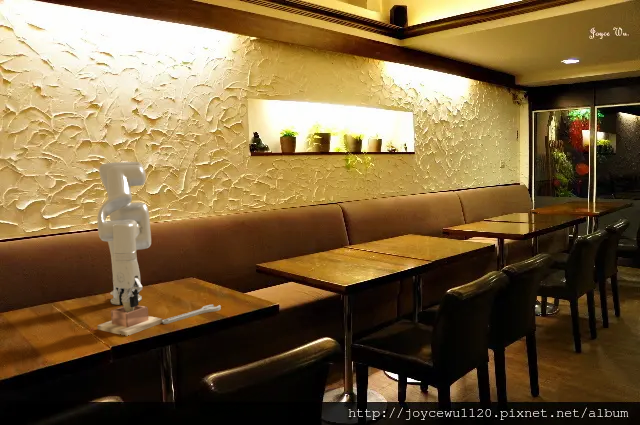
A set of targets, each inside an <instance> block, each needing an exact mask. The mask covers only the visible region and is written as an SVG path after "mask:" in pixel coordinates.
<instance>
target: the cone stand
mask: <svg viewBox="0 0 640 425" xmlns="http://www.w3.org/2000/svg"><path fill="white" fill-rule="evenodd" d="M110 314H111V320H109V321H106V322H104V323H100V324H97V330H99V331H103V332H108V333H112V334H115V335H116V334H117V335H120V334H121V336H124V335H125V336H124V337H128V335H129V336H131V335H134V334H136V333H140V332H141V331H144V330H147V329H150V328H152V327H155V326H157V325H160V324H163V323H162V320H164V319H163V318H160V317H156V316H155V317H154V316H151V315H149V308H148V306H144V305H138V306H135V307H134V311H131V312H128V313H127V312H126V311H125V308H124V306H120V307H118V308H115V309H112V310H110Z"/></svg>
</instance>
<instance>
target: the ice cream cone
mask: <svg viewBox="0 0 640 425" xmlns="http://www.w3.org/2000/svg"><path fill="white" fill-rule="evenodd" d="M130 297H131V295H130V291H129V289H124V293H123V294H122V297H121V298H122V300H121V301H122V303H123V305H122V307H124V308H125V311H126V312H127V313H128V312H131V311H134V307H130Z"/></svg>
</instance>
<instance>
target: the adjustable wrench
mask: <svg viewBox="0 0 640 425" xmlns="http://www.w3.org/2000/svg"><path fill="white" fill-rule="evenodd" d="M221 307H222V306H221V305H220V304H219V305H217V306H215V305H214V304H207V305H204V306H202V307H201V308H199V309H196V310H192V311H190V312H186V313H182V314H179V315H175V316H172V317H168V318H166V319H165V318H164V319H163V320H162V323H161V324H162V325H169V324H171V323H173V322H174V323H175V322H179V321H182V320H185V319H188V318H191V317H195V316H198V315H201V314H207V313H212V312H218V311H221V309H222V308H221Z"/></svg>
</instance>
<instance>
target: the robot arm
mask: <svg viewBox="0 0 640 425" xmlns="http://www.w3.org/2000/svg"><path fill="white" fill-rule="evenodd" d="M98 172H99V177H100V180H101V182H102V184H103V186H104V188H105V191H106V194H107V200H106V201H104V203H103V204H102V205H101V207H100V209H99V210H98V213H97V233H98V234H97V235H98V237H99V239H100V240H101V241H103V242H107V243H108V248H109V252H110V258H111V272H112V283H113V284H112V285H113V290H112V291H111V292H110V295H112V296H113V298H111V299H110V303H111V304H112V305H117V306H118V305H119V306H123V303H122V301H121V300H122V298H121V297H122V294H123V293H124V289H129V291H130V295H131V297H130V307H135V306H138V305H139V304H140V303H139V302H140V301H141V300H142V299H143V298H142V297H143V296H142V295H140V292H141V291H142V290H143V288H144V287H143V285H142V284H141V272H140V268H139V267H140V266H139V263H138V257H137V256H138V255H137V251H138V250H145V249H148V248H150V247H151V245H152V232H151V220H150V212H149V208H148V205H147V204H146V203H144V202H132V199H133V196H132V188H131V187H137V186H138V187H141V186H143V185H145V184H146V170H145V168H144V166H143V163H141V162H140V161H127V162H126V161H124V162H123V161H122V162H120V161H119V162H116V161H114V162H106V163H103V164H100V166H99V168H98ZM108 216H109V220H106V218H107V217H108ZM139 306H140V305H139Z"/></svg>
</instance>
